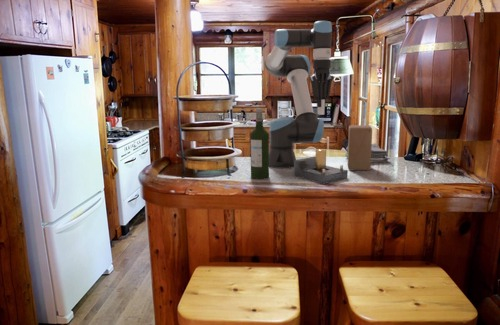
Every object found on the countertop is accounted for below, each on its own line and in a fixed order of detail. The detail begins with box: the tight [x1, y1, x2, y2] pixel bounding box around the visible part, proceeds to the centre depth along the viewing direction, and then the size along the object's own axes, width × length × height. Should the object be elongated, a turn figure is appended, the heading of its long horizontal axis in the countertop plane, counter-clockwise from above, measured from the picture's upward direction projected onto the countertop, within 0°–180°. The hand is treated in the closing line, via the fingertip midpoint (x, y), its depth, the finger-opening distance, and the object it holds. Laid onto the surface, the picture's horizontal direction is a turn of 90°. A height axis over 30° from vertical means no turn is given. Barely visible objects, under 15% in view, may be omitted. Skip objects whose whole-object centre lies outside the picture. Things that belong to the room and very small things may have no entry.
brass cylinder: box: [315, 148, 327, 171], centre depth 171 cm, size 4×4×12 cm
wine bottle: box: [249, 107, 270, 180], centre depth 171 cm, size 8×8×30 cm
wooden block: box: [347, 124, 373, 172], centre depth 186 cm, size 10×10×20 cm
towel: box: [345, 143, 389, 164], centre depth 206 cm, size 15×18×8 cm
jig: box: [293, 155, 349, 184], centre depth 172 cm, size 18×14×7 cm
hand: (320, 114), depth 175 cm, fingers closed
